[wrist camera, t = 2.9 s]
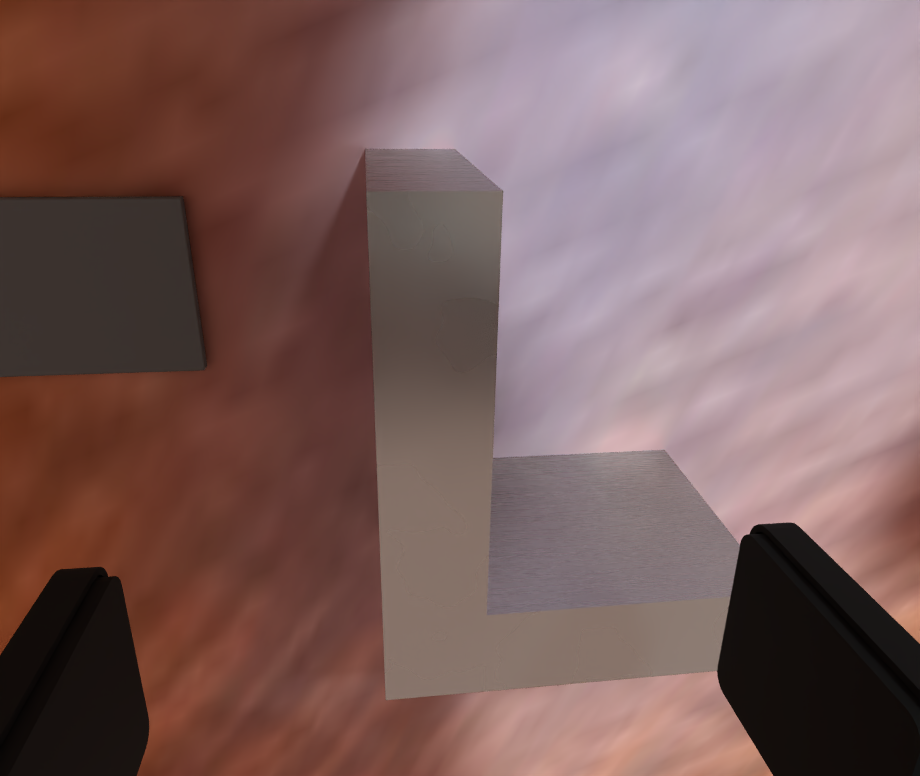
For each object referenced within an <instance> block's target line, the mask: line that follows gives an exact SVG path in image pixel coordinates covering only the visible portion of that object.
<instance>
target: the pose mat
mask: <svg viewBox="0 0 920 776" xmlns="http://www.w3.org/2000/svg"><path fill="white" fill-rule="evenodd" d="M206 366H207V362H206V355H205V348H204V341H203V334H202V327H201V320H200V312H199V305H198V298H197V291H196V284H195V277H194V270H193V263H192V256H191V249H190V242H189V235H188V228H187V221H186V213H185V206H184V199H183V196H174V197H0V377H13V376H43V375H74V374H104V373H135V372H166V371H196V370H205V368H206Z"/></svg>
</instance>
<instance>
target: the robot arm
mask: <svg viewBox="0 0 920 776" xmlns="http://www.w3.org/2000/svg"><path fill="white" fill-rule="evenodd" d="M717 673H718V680H719V684H720V687H721V690H722V692H723V694H724V695H725V697H726V699H727V700H728V702H729V704H730V705H731V707H732V708H733V710H734V712H735V713H736V715H737V717H738V718H739V720H740V722H741V723H742V725H743V726H744V728H745V730H746V731H747V733H748V735H749V736H750V738H751V740H752V741H753V743H754V745H755V746H756V748H757V749H758V751H759V753H760V754H761V756H762V758H763V759H764V761H765V763H766V764H767V766H768V768H769V769H770V771H771V772H772V774H773V776H920V644H919V643H918V642H917V641H916V640H915V639H914V638H913V637H912V636H911V635H910V634H909V633H908V632H907V631H906V630H905V629H904V628H903V627H902V626H901V625H900V624H899V623H898V622H897V621H896V620H895V619H894V618H892V617H891V616H890V615H889V614H888V613H887V612H886V611H885V610H884V609H883V608H882V607H881V606H880V605H879V604H878V603H877V602H876V601H875V600H874V599H873V598H872V597H871V596H870V595H869V594H868V593H867V592H866V591H865V590H864V589H863V588H862V587H861V586H860V585H859V584H858V583H857V582H855V581H854V580H853V579H852V578H851V577H850V576H849V575H848V574H847V573H846V572H845V571H844V570H843V569H842V568H841V567H840V566H839V565H838V564H837V563H836V562H835V561H834V560H833V559H832V558H831V557H830V556H829V555H828V554H827V553H826V552H825V551H824V550H823V549H822V548H821V547H820V546H819V545H817V544H816V543H815V542H814V541H813V540H812V539H811V538H810V537H809V536H808V535H807V534H806V533H805V532H804V531H803V530H802V529H801V528H800V527H799V526H797V525H796V524H795V523H774V524H758V525H756V526H754V527H753V528H752V530H751V532H750V534H748V535H745V536H744V537H743V538H742V540H741V543H740V548H739V554H738V559H737V564H736V570H735V575H734V580H733V586H732V591H731V597H730V602H729V607H728V613H727V618H726V624H725V629H724V634H723V640H722V645H721V651H720V656H719V661H718V668H717ZM148 735H149V718H148V712H147V707H146V703H145V698H144V693H143V688H142V683H141V678H140V673H139V668H138V663H137V658H136V653H135V648H134V643H133V638H132V633H131V629H130V624H129V619H128V614H127V609H126V604H125V599H124V594H123V589H122V585H121V581H120V579H119V578H118V577H116V576H113V577H108V574H107V572H106V571H105V569H104V568H102V567H91V568H75V569H61V570H58V571H56V572H55V573H54V575H53V576H52V577H51V579H50V580H49V582H48V583H47V585H46V586H45V588H44V589H43V591H42V592H41V594H40V595H39V597H38V599H37V600H36V602H35V603H34V605H33V606H32V608H31V609H30V611H29V612H28V614H27V615H26V617H25V618H24V620H23V621H22V623H21V624H20V626H19V627H18V629H17V631H16V632H15V634H14V635H13V637H12V638H11V640H10V641H9V643H8V644H7V646H6V647H5V649H4V650H3V652H2V653H1V655H0V776H137V773H138V770H139V767H140V764H141V761H142V758H143V755H144V752H145V749H146V745H147V741H148Z"/></svg>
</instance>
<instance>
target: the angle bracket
mask: <svg viewBox="0 0 920 776" xmlns="http://www.w3.org/2000/svg"><path fill="white" fill-rule="evenodd" d="M365 159H366V198H367V224H368V250H369V276H370V303H371V329H372V355H373V381H374V407H375V434H376V460H377V486H378V512H379V538H380V565H381V591H382V617H383V643H384V669H385V696H386V700H394V699H405V698H417V697H428V696H439V695H451V694H462V693H473V692H485V691H496V690H507V689H518V688H530V687H541V686H552V685H564V684H575V683H586V682H598V681H609V680H620V679H631V678H643V677H654V676H665V675H677V674H688V673H699V672H710V671H717V668H718V661H719V656H720V651H721V645H722V640H723V634H724V629H725V624H726V618H727V613H728V607H729V602H730V597H731V591H732V586H733V580H734V575H735V570H736V564H737V559H738V554H739V548H740V545H739V543H738V542H737V541H736V539H735V538H734V537H733V536H732V534H731V533H730V532H729V531H728V529H727V528H726V527H725V526H724V524H723V523H722V522H721V520H720V519H719V518H718V517H717V515H716V514H715V513H714V512H713V510H712V509H711V508H710V507H709V505H708V504H707V503H706V501H705V500H704V499H703V498H702V496H701V495H700V494H699V493H698V491H697V490H696V489H695V488H694V486H693V485H692V484H691V482H690V481H689V480H688V479H687V477H686V476H685V475H684V474H683V472H682V471H681V470H680V469H679V467H678V466H677V465H676V463H675V462H674V461H673V460H672V458H671V457H670V456H669V455H668V453H667V452H666V451H665V450H652V451H632V452H611V453H591V454H571V455H550V456H530V457H510V458H493V438H494V412H495V386H496V360H497V334H498V308H499V282H500V256H501V230H502V204H503V191H502V190H501V189H500V188H499V187H498V186H497V185H496V184H494V183H493V182H492V181H491V180H490V179H489V178H488V177H486V176H485V175H484V174H483V173H482V172H481V171H480V170H479V169H477V168H476V167H475V166H474V165H473V164H472V163H471V162H469V161H468V160H467V159H466V158H465V157H464V156H463V155H461V154H460V153H459V152H458V151H457V150H456V149H365Z"/></svg>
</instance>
